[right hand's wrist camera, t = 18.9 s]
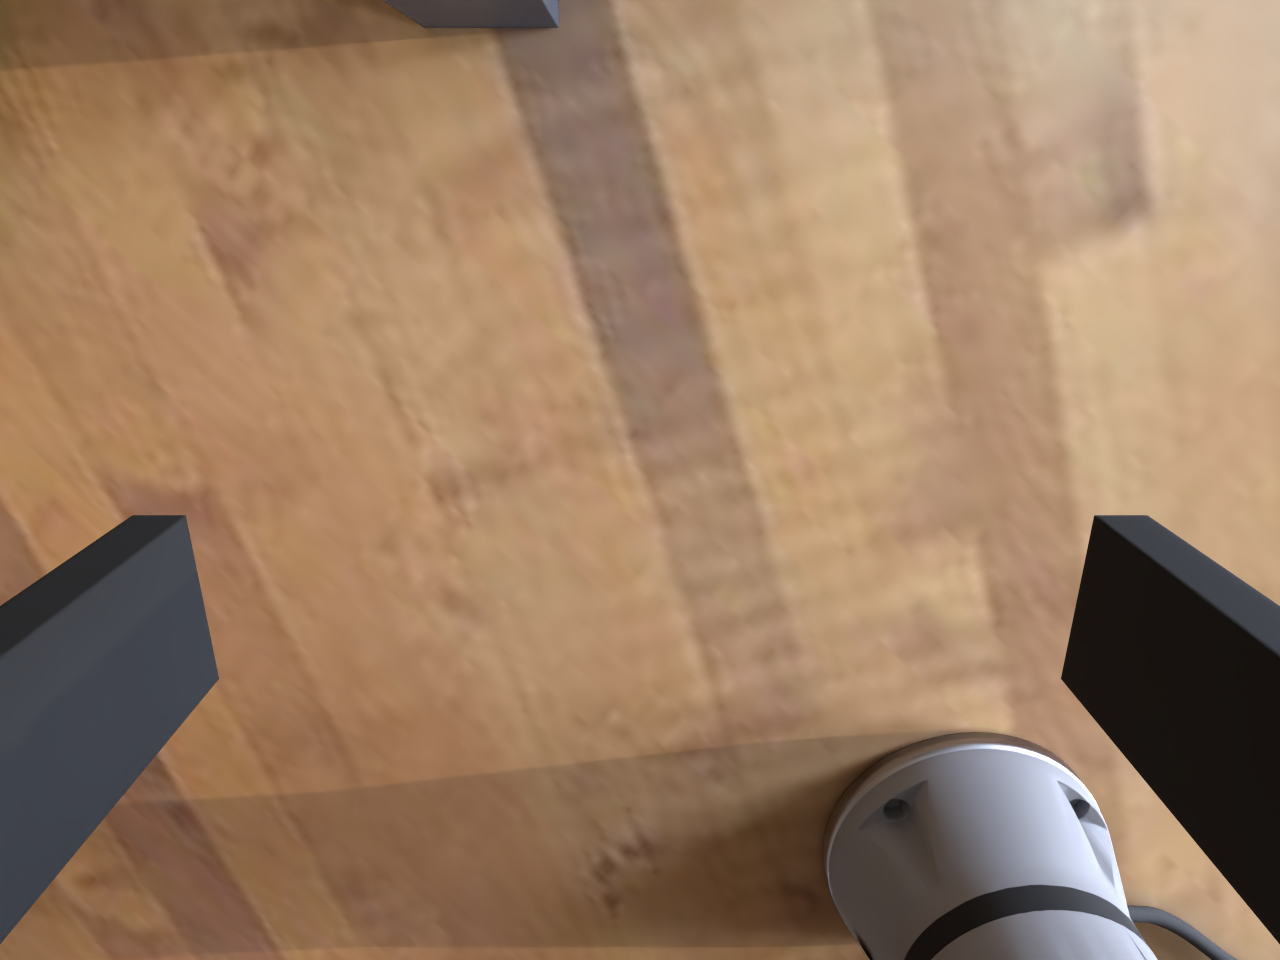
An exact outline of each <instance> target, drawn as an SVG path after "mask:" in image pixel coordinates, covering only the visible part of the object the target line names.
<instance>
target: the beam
mask: <svg viewBox="0 0 1280 960" xmlns="http://www.w3.org/2000/svg"><path fill="white" fill-rule="evenodd" d="M382 1H384V2H385V3H387V4H389V5H390V6H392V7H393V8H395V9H396V10H398V11H399V12H401V13H402V14H404V15H406V16H407V17H409V18H410V19H412V20H413V21H415V22H416V23H418V24H420V25H421V26H423V27H424V28H558V27H559V16H558V0H382Z"/></svg>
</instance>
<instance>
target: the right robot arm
mask: <svg viewBox="0 0 1280 960" xmlns="http://www.w3.org/2000/svg"><path fill="white" fill-rule="evenodd" d="M218 679H219V676H218V672H217V667H216V662H215V657H214V652H213V647H212V642H211V637H210V632H209V627H208V623H207V618H206V613H205V608H204V603H203V598H202V593H201V588H200V583H199V578H198V574H197V569H196V564H195V559H194V554H193V549H192V544H191V539H190V534H189V529H188V525H187V520H186V515H133V516H131V517H130V518H128V519H127V520H125V521H124V522H122V523H121V524H119V525H118V526H117V527H115V528H114V529H112V530H111V531H109V532H108V533H106V534H105V535H103V536H102V537H100V538H99V539H98V540H96V541H95V542H93V543H92V544H90V545H89V546H87V547H86V548H84V549H83V550H81V551H80V552H79V553H77V554H76V555H74V556H73V557H71V558H70V559H68V560H67V561H65V562H64V563H63V564H61V565H60V566H58V567H57V568H55V569H54V570H52V571H51V572H49V573H48V574H46V575H45V576H44V577H42V578H41V579H39V580H38V581H36V582H35V583H33V584H32V585H30V586H29V587H28V588H26V589H25V590H23V591H22V592H20V593H19V594H17V595H16V596H14V597H13V598H11V599H10V600H9V601H7V602H6V603H4V604H3V605H1V606H0V944H1V943H2V941H3V940H4V939H5V938H6V936H7V935H8V934H9V933H10V932H11V930H12V929H13V928H14V927H15V926H16V924H17V923H18V922H19V921H20V919H21V918H22V917H23V916H24V915H25V913H26V912H27V911H28V910H29V909H30V907H31V906H32V905H33V904H34V903H35V901H36V900H37V899H38V898H39V896H40V895H41V894H42V893H43V892H44V890H45V889H46V888H47V887H48V886H49V884H50V883H51V882H52V881H53V879H54V878H55V877H56V876H57V875H58V873H59V872H60V871H61V870H62V869H63V867H64V866H65V865H66V864H67V862H68V861H69V860H70V859H71V858H72V856H73V855H74V854H75V853H76V852H77V850H78V849H79V848H80V847H81V845H82V844H83V843H84V842H85V841H86V839H87V838H88V837H89V836H90V835H91V833H92V832H93V831H94V830H95V828H96V827H97V826H98V825H99V824H100V822H101V821H102V820H103V819H104V818H105V816H106V815H107V814H108V813H109V811H110V810H111V809H112V808H113V807H114V805H115V804H116V803H117V802H118V801H119V799H120V798H121V797H122V796H123V795H124V793H125V792H126V791H127V790H128V788H129V787H130V786H131V785H132V784H133V782H134V781H135V780H136V779H137V778H138V776H139V775H140V774H141V773H142V771H143V770H144V769H145V768H146V767H147V765H148V764H149V763H150V762H151V761H152V759H153V758H154V757H155V756H156V754H157V753H158V752H159V751H160V750H161V748H162V747H163V746H164V745H165V744H166V742H167V741H168V740H169V739H170V737H171V736H172V735H173V734H174V733H175V731H176V730H177V729H178V728H179V727H180V725H181V724H182V723H183V722H184V720H185V719H186V718H187V717H188V716H189V714H190V713H191V712H192V711H193V710H194V708H195V707H196V706H197V705H198V704H199V702H200V701H201V700H202V699H203V697H204V696H205V695H206V694H207V693H208V691H209V690H210V689H211V688H212V687H213V685H214V684H215V683H216V682H217V680H218ZM1061 679H1062V680H1063V682H1064V683H1065V684H1066V685H1067V687H1068V688H1069V689H1070V690H1071V691H1072V693H1073V694H1074V695H1075V696H1076V697H1077V699H1078V700H1079V701H1080V702H1081V704H1082V705H1083V706H1084V707H1085V708H1086V710H1087V711H1088V712H1089V713H1090V714H1091V716H1092V717H1093V718H1094V719H1095V720H1096V722H1097V723H1098V724H1099V725H1100V727H1101V728H1102V729H1103V730H1104V731H1105V733H1106V734H1107V735H1108V736H1109V737H1110V739H1111V740H1112V741H1113V742H1114V744H1115V745H1116V746H1117V747H1118V748H1119V750H1120V751H1121V752H1122V753H1123V754H1124V756H1125V757H1126V758H1127V759H1128V761H1129V762H1130V763H1131V764H1132V765H1133V767H1134V768H1135V769H1136V770H1137V771H1138V773H1139V774H1140V775H1141V776H1142V778H1143V779H1144V780H1145V781H1146V782H1147V784H1148V785H1149V786H1150V787H1151V788H1152V790H1153V791H1154V792H1155V793H1156V795H1157V796H1158V797H1159V798H1160V799H1161V801H1162V802H1163V803H1164V804H1165V805H1166V807H1167V808H1168V809H1169V810H1170V811H1171V813H1172V814H1173V815H1174V816H1175V818H1176V819H1177V820H1178V821H1179V822H1180V824H1181V825H1182V826H1183V827H1184V828H1185V830H1186V831H1187V832H1188V833H1189V835H1190V836H1191V837H1192V838H1193V839H1194V841H1195V842H1196V843H1197V844H1198V845H1199V847H1200V848H1201V849H1202V850H1203V852H1204V853H1205V854H1206V855H1207V856H1208V858H1209V859H1210V860H1211V861H1212V862H1213V864H1214V865H1215V866H1216V867H1217V869H1218V870H1219V871H1220V872H1221V873H1222V875H1223V876H1224V877H1225V878H1226V879H1227V881H1228V882H1229V883H1230V884H1231V886H1232V887H1233V888H1234V889H1235V890H1236V892H1237V893H1238V894H1239V895H1240V896H1241V898H1242V899H1243V900H1244V901H1245V903H1246V904H1247V905H1248V906H1249V907H1250V909H1251V910H1252V911H1253V912H1254V913H1255V915H1256V916H1257V917H1258V918H1259V919H1260V921H1261V922H1262V923H1263V924H1264V926H1265V927H1266V928H1267V929H1268V930H1269V932H1270V933H1271V934H1272V935H1273V936H1274V938H1275V939H1276V940H1277V941H1278V943H1279V944H1280V606H1279V605H1277V604H1276V603H1274V602H1273V601H1271V600H1270V599H1269V598H1267V597H1266V596H1264V595H1263V594H1261V593H1260V592H1258V591H1257V590H1255V589H1254V588H1252V587H1251V586H1250V585H1248V584H1247V583H1245V582H1244V581H1242V580H1241V579H1239V578H1238V577H1236V576H1235V575H1234V574H1232V573H1231V572H1229V571H1228V570H1226V569H1225V568H1223V567H1222V566H1220V565H1219V564H1217V563H1216V562H1215V561H1213V560H1212V559H1210V558H1209V557H1207V556H1206V555H1204V554H1203V553H1201V552H1200V551H1199V550H1197V549H1196V548H1194V547H1193V546H1191V545H1190V544H1188V543H1187V542H1185V541H1184V540H1182V539H1181V538H1180V537H1178V536H1177V535H1175V534H1174V533H1172V532H1171V531H1169V530H1168V529H1166V528H1165V527H1163V526H1162V525H1161V524H1159V523H1158V522H1156V521H1155V520H1153V519H1152V518H1150V517H1149V516H1147V515H1094V520H1093V525H1092V529H1091V534H1090V539H1089V544H1088V549H1087V554H1086V559H1085V564H1084V569H1083V574H1082V578H1081V583H1080V588H1079V593H1078V598H1077V603H1076V608H1075V613H1074V618H1073V623H1072V627H1071V632H1070V637H1069V642H1068V647H1067V652H1066V657H1065V662H1064V667H1063V672H1062V676H1061ZM823 863H824V869H825V873H826V877H827V881H828V885H829V888H830V892H831V895H832V898H833V901H834V903H835V905H836V907H837V909H838V911H839V913H840V915H841V918H842V920H843V921H844V923H845V925H846V926H847V928H848V929H849V930H850V932H851V933H852V935H853V936H854V937H855V939H856V940H857V942H858V943H859V945H860V946H861V947H862V949H863V950H864V952H865V953H866V955H867V956H868V957H869V959H870V960H1157V958H1156V957H1155V955H1154V954H1153V952H1152V951H1151V949H1150V948H1149V946H1148V945H1147V943H1146V942H1145V940H1144V939H1143V937H1142V936H1141V934H1140V933H1139V931H1138V930H1137V928H1136V927H1135V925H1134V923H1133V922H1145V923H1151V924H1155V925H1158V926H1160V927H1163V928H1165V929H1167V930H1169V931H1171V932H1173V933H1175V934H1177V935H1178V936H1180V937H1182V938H1183V939H1185V940H1186V941H1188V942H1189V943H1191V944H1192V945H1193V946H1195V947H1196V948H1197V949H1199V950H1200V951H1201V952H1202V953H1204V954H1205V955H1206V956H1208V957H1209V958H1210V959H1211V960H1236V959H1235V958H1233V957H1232V956H1230V955H1229V954H1227V953H1226V952H1225V951H1223V950H1222V949H1221V948H1219V947H1218V946H1217V945H1215V944H1214V943H1213V942H1212V941H1210V940H1209V939H1208V938H1206V937H1205V936H1204V935H1203V934H1201V933H1200V932H1199V931H1197V930H1196V929H1195V928H1193V927H1192V926H1190V925H1189V924H1187V923H1186V922H1184V921H1182V920H1181V919H1179V918H1177V917H1175V916H1173V915H1172V914H1169V913H1167V912H1165V911H1162V910H1160V909H1157V908H1153V907H1148V906H1128V905H1127V903H1126V899H1125V895H1124V891H1123V887H1122V883H1121V879H1120V875H1119V871H1118V867H1117V863H1116V859H1115V855H1114V851H1113V847H1112V843H1111V839H1110V835H1109V831H1108V828H1107V825H1106V823H1105V821H1104V818H1103V816H1102V814H1101V812H1100V810H1099V808H1098V806H1097V804H1096V802H1095V800H1094V798H1093V797H1092V795H1091V794H1090V793H1089V791H1088V790H1087V788H1086V787H1085V786H1084V784H1083V783H1082V781H1081V780H1080V779H1079V777H1078V776H1077V774H1076V773H1075V772H1074V771H1073V770H1072V769H1071V768H1070V767H1069V766H1068V765H1067V764H1066V763H1065V762H1064V761H1063V760H1061V759H1060V758H1059V757H1057V756H1056V755H1055V754H1053V753H1052V752H1050V751H1048V750H1046V749H1045V748H1043V747H1041V746H1039V745H1036V744H1034V743H1032V742H1029V741H1026V740H1023V739H1020V738H1017V737H1012V736H1007V735H1002V734H994V733H979V732H973V733H957V734H949V735H944V736H939V737H934V738H930V739H927V740H923V741H920V742H917V743H915V744H912V745H909V746H907V747H905V748H902V749H900V750H898V751H896V752H894V753H892V754H890V755H889V756H887V757H885V758H883V759H882V760H880V761H879V762H877V763H876V764H874V765H873V766H872V767H870V768H869V769H868V770H867V771H865V772H864V773H863V774H862V775H861V776H860V777H859V778H858V779H857V780H856V781H855V782H853V783H852V785H851V786H850V787H849V788H848V789H847V790H846V792H845V793H844V794H843V796H842V797H841V799H840V800H839V801H838V803H837V805H836V807H835V808H834V810H833V812H832V814H831V817H830V819H829V821H828V824H827V828H826V831H825V835H824V841H823ZM855 939H854V940H855ZM857 942H856V943H857ZM859 945H858V946H859ZM860 946H859V947H860ZM860 949H861V948H860ZM862 949H861V950H862ZM862 952H863V951H862ZM864 952H863V953H864ZM865 953H864V955H865ZM866 955H865V956H866ZM867 956H866V958H867ZM867 959H868V958H867ZM869 959H868V960H869Z"/></svg>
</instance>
